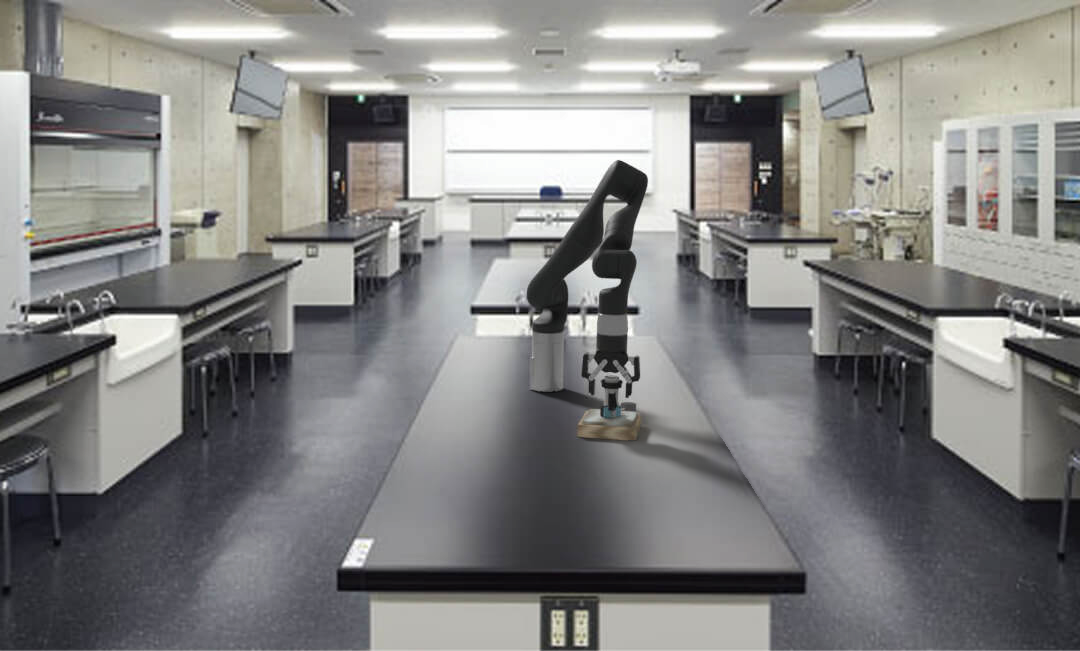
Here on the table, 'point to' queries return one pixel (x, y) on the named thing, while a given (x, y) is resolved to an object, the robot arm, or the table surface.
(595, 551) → the table surface
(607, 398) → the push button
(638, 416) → the base block
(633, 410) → the rubber stopper
